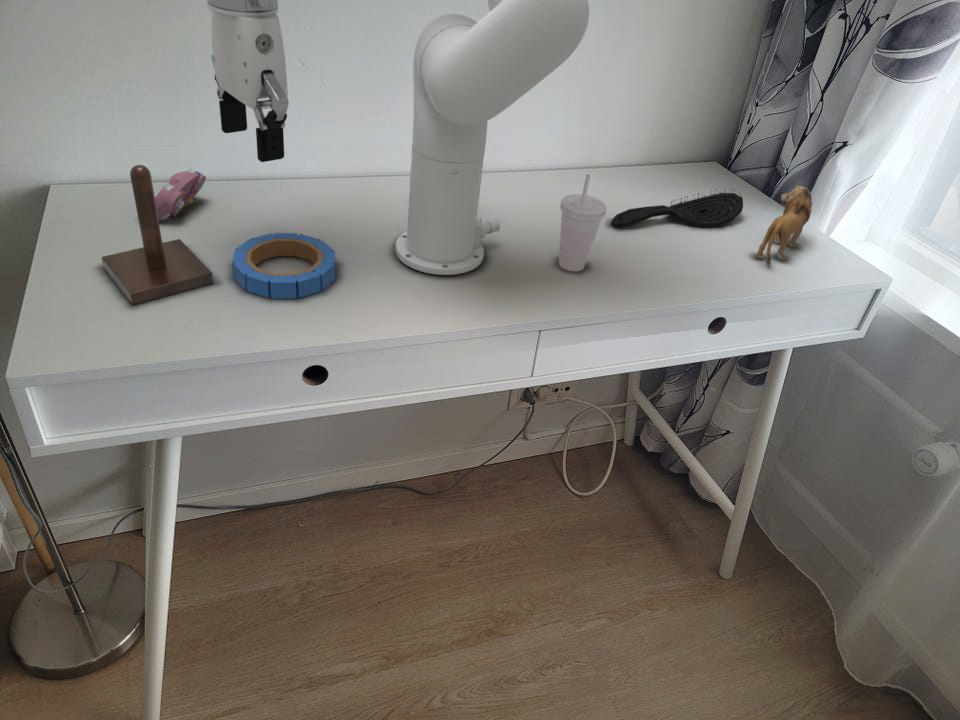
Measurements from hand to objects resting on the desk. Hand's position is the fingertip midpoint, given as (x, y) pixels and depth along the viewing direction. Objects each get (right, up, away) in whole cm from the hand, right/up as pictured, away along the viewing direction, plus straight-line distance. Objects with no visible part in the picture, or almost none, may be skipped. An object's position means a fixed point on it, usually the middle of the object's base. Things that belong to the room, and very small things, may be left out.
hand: (252, 144), depth 92 cm
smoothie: (+41, -13, +16) cm, 46 cm away
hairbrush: (+61, -3, +32) cm, 69 cm away
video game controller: (-16, -5, +17) cm, 24 cm away
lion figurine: (+76, -9, +28) cm, 81 cm away
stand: (-13, -16, +2) cm, 20 cm away
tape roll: (+3, -15, +6) cm, 16 cm away
